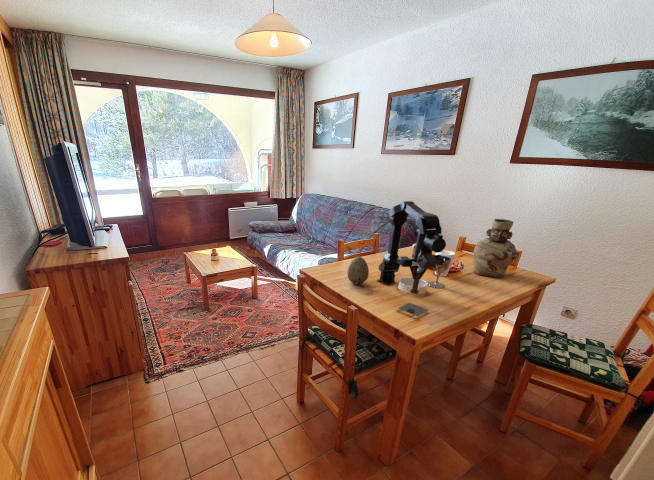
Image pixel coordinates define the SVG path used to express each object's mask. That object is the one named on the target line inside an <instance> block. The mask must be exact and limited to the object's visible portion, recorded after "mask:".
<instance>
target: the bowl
mask: <svg viewBox="0 0 654 480" xmlns="http://www.w3.org/2000/svg"><path fill="white" fill-rule="evenodd" d="M413 282H414V279H413V277H412V276H404V277H400V278H399V279H398V283H397V288H398V290H400V291H401V292H403V293H406V294H409V295H410V294H411V295H413V294H412V293H410V289H412V287H413ZM428 287H429V283H428V282H427V281H426V280H424V279H422V278H421V279H419V284H418V289H417V290H419V293H418V294H417V295H423V294H427V291H428Z"/></svg>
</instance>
